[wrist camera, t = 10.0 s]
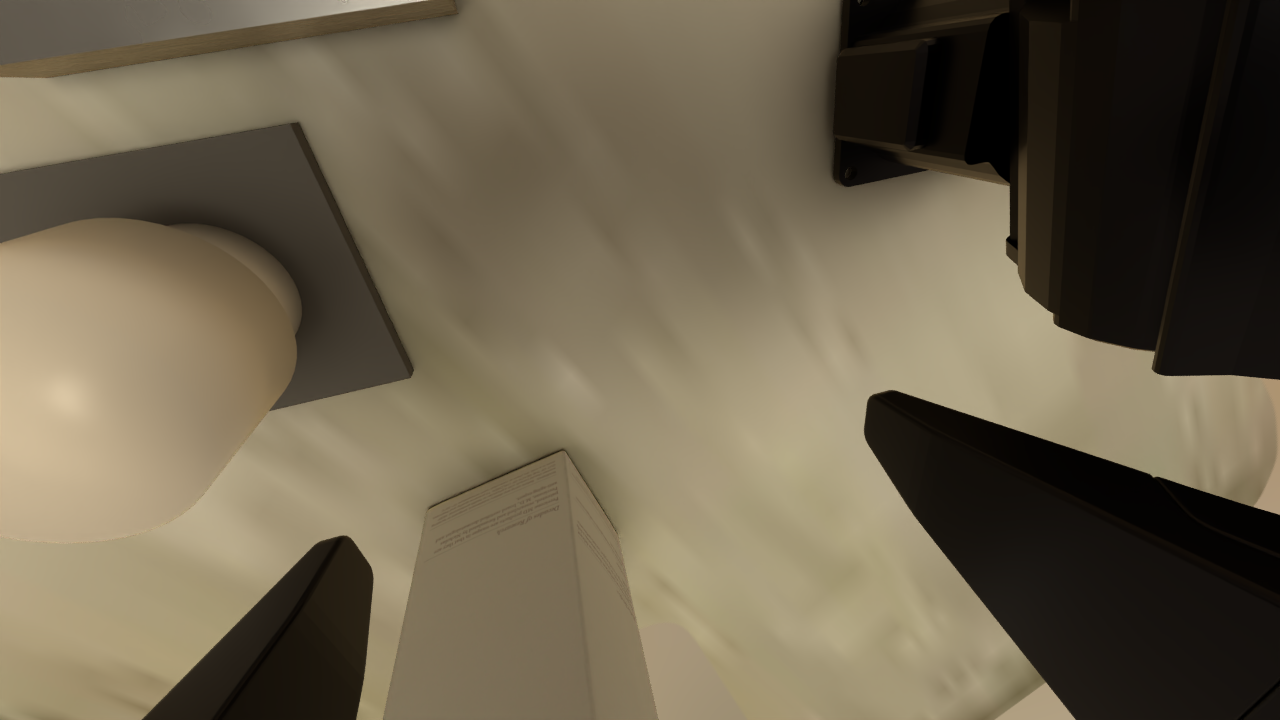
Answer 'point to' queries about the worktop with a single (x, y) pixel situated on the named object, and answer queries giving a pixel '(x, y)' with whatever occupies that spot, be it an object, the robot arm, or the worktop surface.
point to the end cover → (132, 371)
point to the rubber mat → (252, 207)
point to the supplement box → (520, 608)
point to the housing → (174, 28)
